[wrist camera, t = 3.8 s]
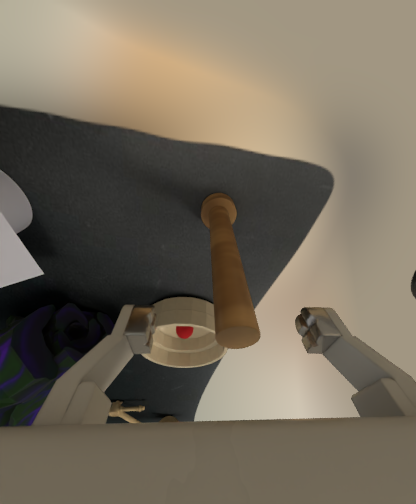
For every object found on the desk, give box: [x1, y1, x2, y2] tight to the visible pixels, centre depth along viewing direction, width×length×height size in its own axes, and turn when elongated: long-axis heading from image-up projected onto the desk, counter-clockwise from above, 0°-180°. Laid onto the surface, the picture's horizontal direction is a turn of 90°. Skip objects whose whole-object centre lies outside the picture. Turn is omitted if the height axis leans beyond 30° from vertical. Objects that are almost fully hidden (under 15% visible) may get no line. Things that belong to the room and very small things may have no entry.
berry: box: [176, 326, 194, 339], centre depth 33 cm, size 3×3×3 cm
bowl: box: [142, 297, 228, 368], centre depth 32 cm, size 15×15×6 cm
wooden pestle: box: [201, 193, 260, 349], centre depth 15 cm, size 4×4×16 cm
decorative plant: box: [0, 303, 115, 427], centre depth 28 cm, size 21×26×30 cm
